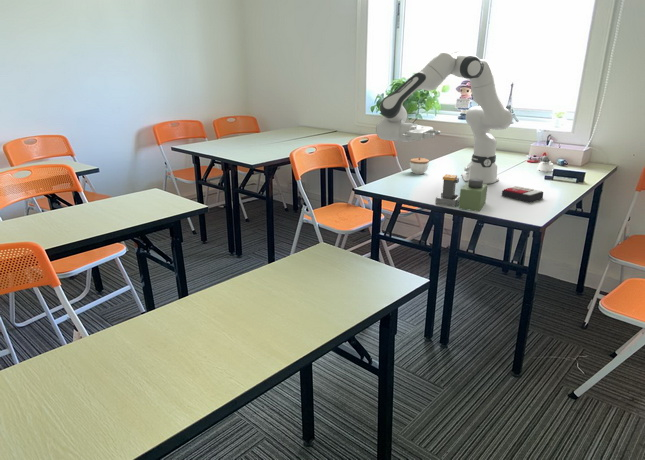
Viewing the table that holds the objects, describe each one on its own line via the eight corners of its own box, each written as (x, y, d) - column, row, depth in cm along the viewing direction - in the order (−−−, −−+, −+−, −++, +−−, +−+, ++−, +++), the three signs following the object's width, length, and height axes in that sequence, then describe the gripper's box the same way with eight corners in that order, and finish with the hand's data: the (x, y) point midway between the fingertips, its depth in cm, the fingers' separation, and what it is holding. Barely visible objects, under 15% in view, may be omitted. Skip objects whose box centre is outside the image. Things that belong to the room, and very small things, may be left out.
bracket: (435, 203, 217) (436, 197, 216) (441, 198, 225) (441, 192, 224) (455, 206, 213) (455, 200, 212) (460, 201, 220) (460, 195, 219)
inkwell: (555, 169, 278) (557, 152, 274) (550, 175, 263) (553, 158, 260) (538, 167, 282) (540, 151, 279) (533, 173, 268) (535, 156, 264)
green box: (458, 208, 211) (460, 182, 206) (464, 200, 221) (467, 175, 217) (479, 211, 206) (482, 184, 202) (485, 203, 217) (488, 177, 213)
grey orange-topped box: (440, 202, 218) (442, 176, 214) (444, 199, 222) (446, 174, 218) (454, 204, 215) (457, 178, 211) (457, 201, 219) (459, 175, 215)
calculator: (515, 185, 233) (544, 190, 221) (514, 193, 235) (543, 199, 223) (501, 189, 227) (530, 194, 216) (501, 197, 229) (529, 203, 217)
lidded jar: (405, 172, 276) (406, 156, 273) (421, 170, 280) (422, 154, 277) (416, 176, 267) (417, 159, 264) (431, 174, 271) (432, 158, 268)
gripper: (401, 128, 214) (430, 130, 208) (415, 123, 231) (443, 124, 225) (400, 142, 217) (430, 145, 210) (415, 136, 233) (442, 138, 227)
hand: (437, 134), depth 218 cm, fingers open, 8 cm apart
